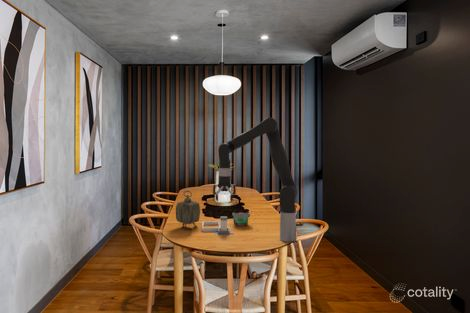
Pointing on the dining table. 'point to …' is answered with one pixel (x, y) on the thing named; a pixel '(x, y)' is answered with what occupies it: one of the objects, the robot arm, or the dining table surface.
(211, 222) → the parts tray
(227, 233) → the fuse block
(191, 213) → the tabletop clock
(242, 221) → the food container
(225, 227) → the fuse
